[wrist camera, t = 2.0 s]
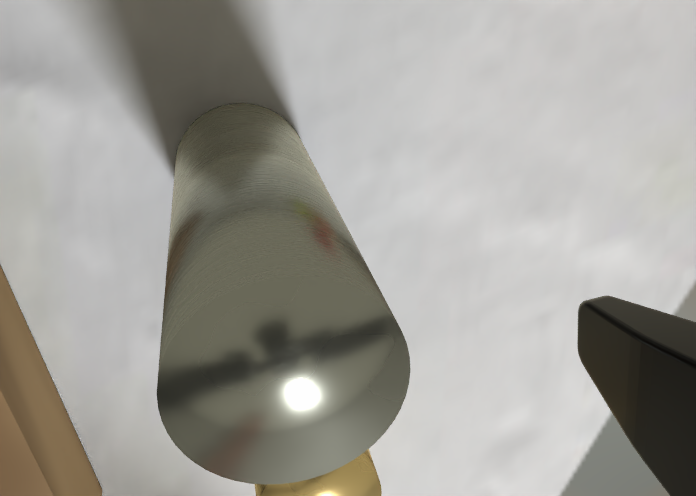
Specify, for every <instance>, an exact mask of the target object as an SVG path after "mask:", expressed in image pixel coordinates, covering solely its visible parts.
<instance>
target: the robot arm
mask: <svg viewBox="0 0 696 496" xmlns="http://www.w3.org/2000/svg"><path fill="white" fill-rule="evenodd" d="M578 353H579V357H580V359H581V362H582V364H583V365H584V367H585V369H586V370H587V372H588V374H589V375H590V377H591V379H592V380H593V382H594V384H595V385H596V387H597V389H598V390H599V392H600V393H601V395H602V397H603V398H604V400H605V402H606V403H607V405H608V407H609V408H610V410H611V412H612V413H613V415H614V416H615V418H616V420H617V422H618V423H619V425H620V426H621V428H622V430H623V431H624V433H625V435H626V436H627V438H628V439H629V441H630V442H631V444H632V445H633V447H634V448H635V450H636V451H637V453H638V454H639V455H640V457H641V458H642V459H643V461H644V462H645V463H646V465H647V466H648V467H649V469H650V470H651V471H652V473H653V474H654V475H655V476H656V478H657V479H658V480H659V482H660V483H661V484H662V486H663V487H664V488H665V489H666V491H667V492H668V493H669V495H670V496H696V322H693V321H690V320H686V319H683V318H680V317H677V316H674V315H670V314H667V313H664V312H661V311H657V310H654V309H651V308H647V307H644V306H641V305H638V304H634V303H631V302H628V301H625V300H621V299H618V298H615V297H612V296H602V297H598V298H594V299H590V300H586V301H584V302H582V303H581V304H580V306H579V310H578Z"/></svg>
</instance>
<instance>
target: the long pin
mask: <svg viewBox="0 0 696 496" xmlns="http://www.w3.org/2000/svg"><path fill="white" fill-rule="evenodd" d="M409 377H410V357H409V352H408V348H407V343H406V341H405V338H404V336H403V333H402V331H401V329H400V327H399V325H398V323H397V321H396V320H395V318H394V316H393V314H392V312H391V310H390V308H389V306H388V304H387V303H386V301H385V299H384V297H383V295H382V293H381V291H380V289H379V287H378V285H377V284H376V282H375V280H374V278H373V276H372V274H371V272H370V270H369V268H368V267H367V265H366V263H365V261H364V259H363V257H362V255H361V253H360V251H359V249H358V248H357V246H356V244H355V242H354V240H353V238H352V236H351V234H350V232H349V231H348V229H347V227H346V225H345V223H344V221H343V219H342V217H341V215H340V213H339V212H338V210H337V208H336V206H335V204H334V202H333V200H332V198H331V196H330V195H329V193H328V191H327V189H326V187H325V185H324V183H323V181H322V179H321V177H320V176H319V174H318V172H317V170H316V168H315V166H314V164H313V162H312V160H311V159H310V157H309V155H308V153H307V151H306V149H305V147H304V145H303V143H302V141H301V140H300V138H299V136H298V134H297V133H296V131H295V130H294V129H293V127H292V126H291V125H290V124H289V123H288V122H287V121H286V120H285V119H284V118H282V117H281V116H280V115H278V114H277V113H275V112H273V111H271V110H269V109H267V108H264V107H262V106H258V105H254V104H246V103H235V104H228V105H224V106H220V107H217V108H215V109H212V110H210V111H208V112H207V113H205V114H203V115H202V116H201V117H199V118H198V119H197V120H196V121H195V122H194V123H193V124H192V125H191V126H190V127H189V128H188V130H187V131H186V132H185V134H184V136H183V137H182V139H181V141H180V144H179V147H178V150H177V154H176V162H175V175H174V187H173V199H172V212H171V224H170V236H169V249H168V261H167V273H166V286H165V298H164V310H163V322H162V335H161V347H160V359H159V372H158V385H157V400H158V408H159V412H160V416H161V419H162V422H163V424H164V426H165V429H166V431H167V433H168V434H169V436H170V437H171V439H172V440H173V442H174V443H175V445H176V446H177V447H178V448H179V449H180V450H181V451H182V452H183V453H184V454H185V455H186V456H187V457H188V458H190V459H191V460H192V461H193V462H195V463H196V464H198V465H199V466H201V467H203V468H204V469H206V470H208V471H210V472H212V473H214V474H217V475H219V476H221V477H225V478H228V479H231V480H235V481H240V482H245V483H251V484H265V485H266V484H285V483H293V482H299V481H303V480H308V479H312V478H315V477H318V476H321V475H324V474H326V473H329V472H331V471H333V470H336V469H338V468H340V467H342V466H343V465H345V464H347V463H349V462H351V461H352V460H354V459H355V458H357V457H358V456H360V455H361V454H362V453H364V452H365V451H366V450H367V449H369V448H370V447H371V446H372V445H373V444H374V443H376V441H377V440H378V439H379V438H380V437H381V436H382V435H383V434H384V433H385V432H386V430H387V429H388V428H389V426H390V425H391V424H392V422H393V421H394V419H395V417H396V416H397V414H398V412H399V410H400V409H401V406H402V404H403V401H404V399H405V396H406V393H407V389H408V385H409Z"/></svg>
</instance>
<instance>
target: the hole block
mask: <svg viewBox="0 0 696 496" xmlns="http://www.w3.org/2000/svg"><path fill="white" fill-rule="evenodd" d="M0 496H102V489H101V487H100V484H99V482H98V480H97V478H96V476H95V473H94V471H93V469H92V467H91V465H90V462H89V460H88V458H87V456H86V454H85V451H84V449H83V447H82V445H81V442H80V440H79V438H78V436H77V434H76V431H75V429H74V427H73V425H72V423H71V420H70V418H69V416H68V414H67V412H66V409H65V407H64V405H63V403H62V401H61V398H60V396H59V394H58V392H57V389H56V387H55V385H54V383H53V381H52V378H51V376H50V374H49V372H48V370H47V367H46V365H45V363H44V361H43V359H42V356H41V354H40V352H39V350H38V347H37V345H36V343H35V341H34V339H33V336H32V334H31V332H30V330H29V328H28V325H27V323H26V321H25V319H24V317H23V314H22V312H21V310H20V308H19V306H18V303H17V301H16V299H15V297H14V294H13V292H12V290H11V288H10V286H9V283H8V281H7V279H6V277H5V275H4V272H3V270H2V268H1V266H0Z"/></svg>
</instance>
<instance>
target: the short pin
mask: <svg viewBox="0 0 696 496" xmlns="http://www.w3.org/2000/svg"><path fill="white" fill-rule="evenodd" d="M255 491H256V496H381V485H380V481H379V478H378V475H377V472H376V469H375V466H374V463H373V460H372V458H371V455H370V452H369V449H367V450H366V451H365V452H364V453H362V454H361V455H360V456H358V457H357V458H355V459H354V460H352V461H351V462H349V463H347V464H345V465H343V466H342V467H340V468H338V469H336V470H333V471H331V472H329V473H326V474H324V475H321V476H318V477H315V478H312V479H308V480H303V481H299V482H293V483H285V484H266V485H265V484H255Z"/></svg>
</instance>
